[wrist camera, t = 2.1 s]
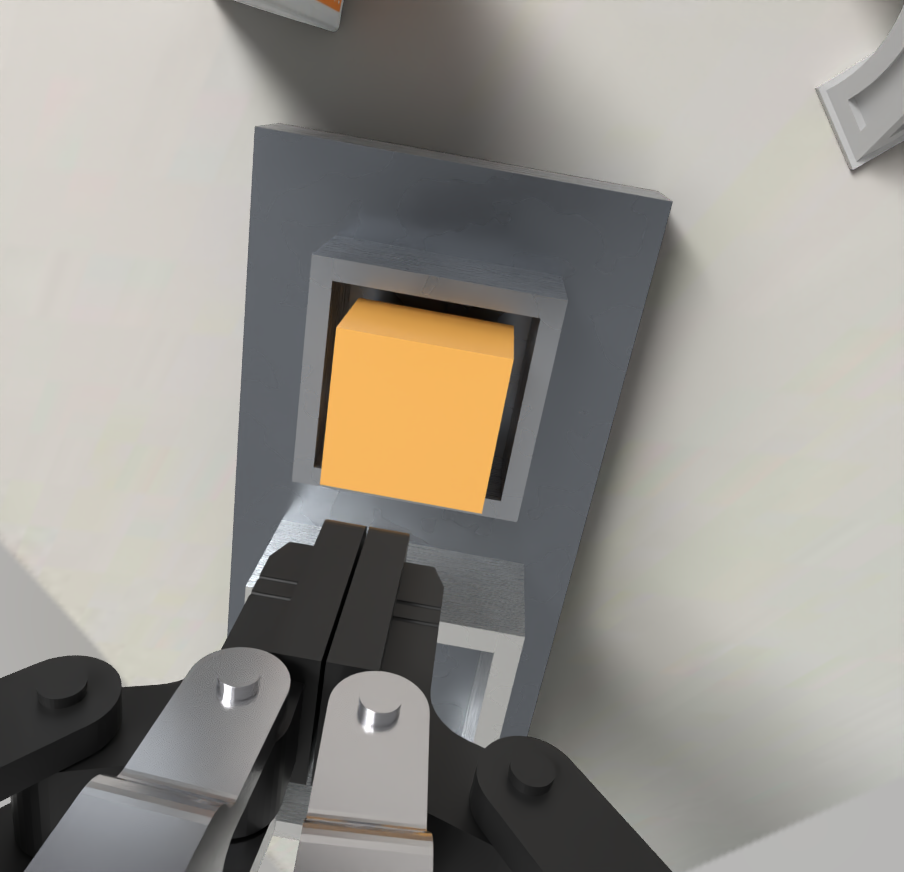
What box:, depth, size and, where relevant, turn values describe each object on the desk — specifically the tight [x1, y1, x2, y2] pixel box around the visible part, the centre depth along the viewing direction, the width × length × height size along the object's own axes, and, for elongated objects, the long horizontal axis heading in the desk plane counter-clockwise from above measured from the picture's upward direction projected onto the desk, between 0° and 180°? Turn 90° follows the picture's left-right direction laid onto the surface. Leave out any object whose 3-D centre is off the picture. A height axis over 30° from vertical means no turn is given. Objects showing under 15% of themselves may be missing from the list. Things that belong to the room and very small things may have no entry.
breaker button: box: [320, 298, 514, 514], centre depth 21 cm, size 4×4×3 cm
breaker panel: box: [227, 123, 673, 841], centre depth 26 cm, size 12×24×6 cm, turn 171°
